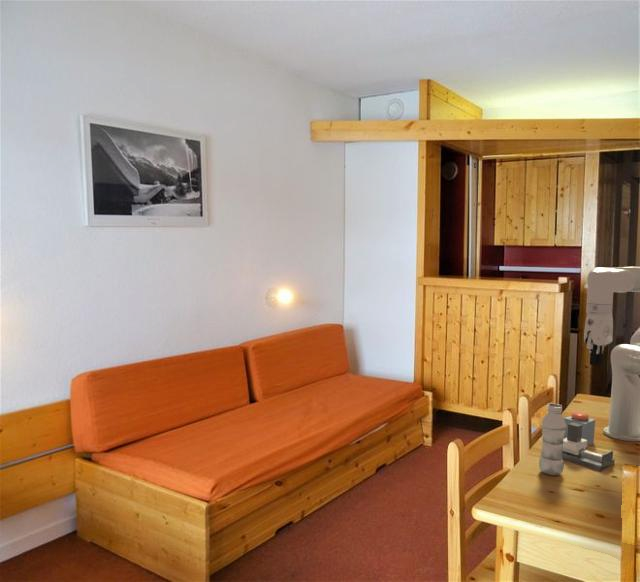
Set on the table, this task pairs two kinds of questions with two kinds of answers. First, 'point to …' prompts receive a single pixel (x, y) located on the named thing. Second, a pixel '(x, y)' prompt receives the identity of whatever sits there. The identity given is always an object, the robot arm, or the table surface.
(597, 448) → the table surface
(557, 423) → the plastic bottle
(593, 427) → the gauge cabinet
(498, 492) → the table surface
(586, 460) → the track
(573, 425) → the carriage
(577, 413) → the button
